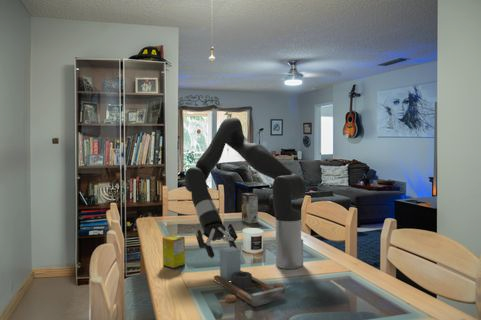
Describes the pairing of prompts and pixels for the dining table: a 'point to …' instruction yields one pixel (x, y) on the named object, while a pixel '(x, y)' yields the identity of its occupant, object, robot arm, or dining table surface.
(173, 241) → the supplement box
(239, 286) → the rubber ring
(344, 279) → the dining table surface
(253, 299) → the guide channel
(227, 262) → the gray block
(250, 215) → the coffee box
